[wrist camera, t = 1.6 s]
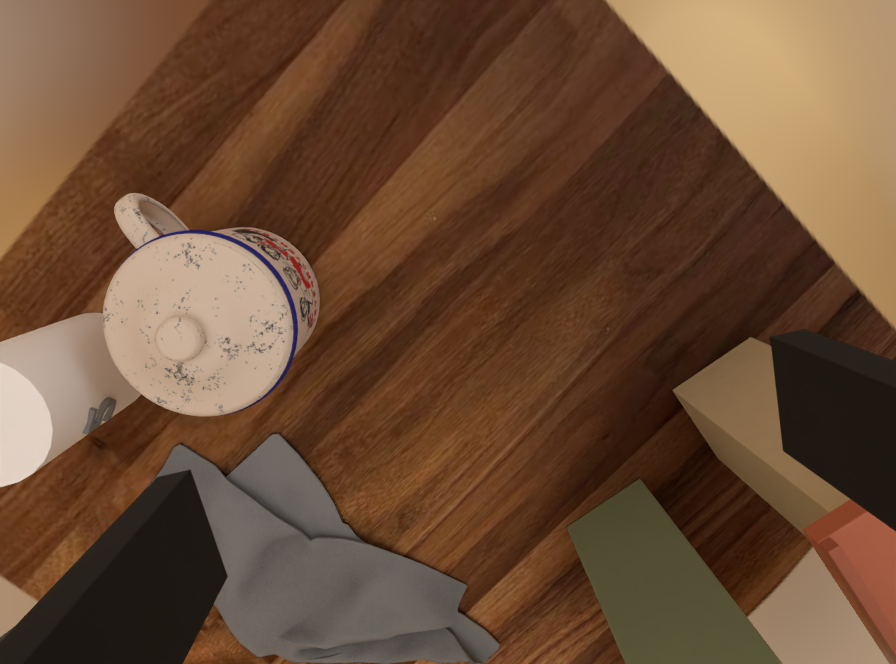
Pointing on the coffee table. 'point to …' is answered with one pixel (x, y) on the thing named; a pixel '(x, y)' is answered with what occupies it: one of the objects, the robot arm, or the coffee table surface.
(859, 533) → the red-capped tan pillar
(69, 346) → the candle
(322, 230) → the coffee table surface
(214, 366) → the teacup with lid
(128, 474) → the coffee table surface
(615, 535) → the mint green pillar
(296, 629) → the cloth
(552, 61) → the coffee table surface
